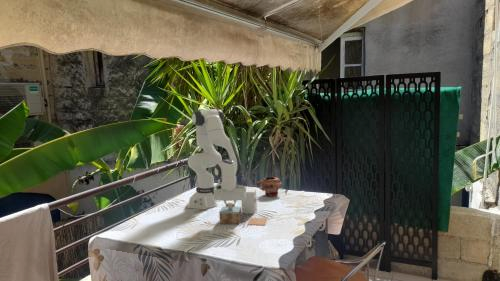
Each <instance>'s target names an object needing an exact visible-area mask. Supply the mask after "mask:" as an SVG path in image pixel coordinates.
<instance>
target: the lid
mask: <svg viewBox="0 0 500 281" xmlns="http://www.w3.org/2000/svg"><path fill="white" fill-rule="evenodd" d="M227 204H228V207H226V206H222V208H221V209H220V210H219V213H236V214H238V213H239V212H240V210H241V211H242V206H235V207H232V204H233V202H229V201H228V203H227ZM219 213H218V214H219Z"/></svg>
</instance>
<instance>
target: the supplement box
mask: <svg viewBox="0 0 500 281" xmlns="http://www.w3.org/2000/svg"><path fill="white" fill-rule="evenodd" d="M245 193H246V199H245V200H241V214H253V215H255V214H256V212H257V209H258V206H257V204H258V203H257V202H258V201H257V189H256V188H246V192H245Z"/></svg>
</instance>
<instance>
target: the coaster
mask: <svg viewBox="0 0 500 281" xmlns="http://www.w3.org/2000/svg"><path fill="white" fill-rule="evenodd" d="M267 220H268V218H267V217H263V218H262V217H261V218H260V217H258V218H257V217H249V220H248V222H247V226H266V225H267Z"/></svg>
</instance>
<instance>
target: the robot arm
mask: <svg viewBox="0 0 500 281" xmlns="http://www.w3.org/2000/svg"><path fill="white" fill-rule="evenodd" d="M224 116H225V115H224V111H222V109H219V108H215V109H214V108H208V109H200V110H199V109H198V110H197V109H196V110H195V111H193V112H192V114H191V120H192V123H193V125H195V126H196V129H195V131H196V132H195V134H196V145H197V147H199V148H201V149H203V152H200V153H194V154H191V155H190V156H188V158H187V165H188V168H190V169H191V170H193V171H194V172H195V173H196V175H197V179H198V185H197V186H196V187H195V193H193V194H192V195H191V196H190V198H189V201H188V202H187V203H186V206H185V207H186V209H197V210H207V209H211V208H214V207H216V206H218V202H217V201H223V203H224V205H225V207H228V203H227V201H233V203H232V207H236V202H237V201H242V200H245V199H246V193H245V192H246V189H247V187H246V186H244V185H239V184H237V177H239V176H240V175H241V174H242V172H243V166H242V164H241V161H240V160H239V158H238V155H237V152H236V149H235V146H234V143H233V141H232V139H231V138H230V137H228V136H227V135H226V133H225V128H224V124H223V122H224V120H225V119H224V118H225V117H224ZM215 146H217V147H221V148H223V149H225V150H226V151H227V154H228V157H229V158H225V159H223V158H222V155H221V153H220V152H219V151H217V150H216V148H215ZM212 167H214V168H213V172H214V173H212V172H208V171H207V168H212ZM213 174H214V175H213ZM214 176H216V178H219V179H222V180H221V182H219V183H217V184H215V179H214Z"/></svg>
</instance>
